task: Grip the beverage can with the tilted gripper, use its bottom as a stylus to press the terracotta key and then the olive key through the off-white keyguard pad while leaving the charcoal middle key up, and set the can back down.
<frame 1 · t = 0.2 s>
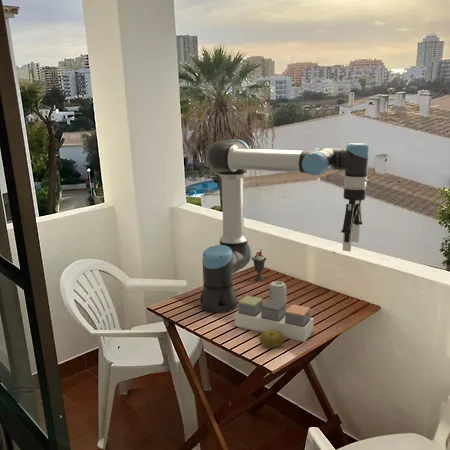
hand: (350, 246, 168), 27 cm above the table, tool pointing down, fingers open, 13 cm apart
beverage can: (277, 313, 179), on the table
sundae: (259, 279, 215), on the table
keypad: (273, 328, 166), on the table
key olive: (250, 307, 169), point 6 cm above the table, slide at 0.0 cm
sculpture: (271, 344, 155), on the table
key charcoal: (273, 312, 164), point 6 cm above the table, slide at 0.0 cm
key terracotta: (297, 317, 160), point 6 cm above the table, slide at 0.0 cm
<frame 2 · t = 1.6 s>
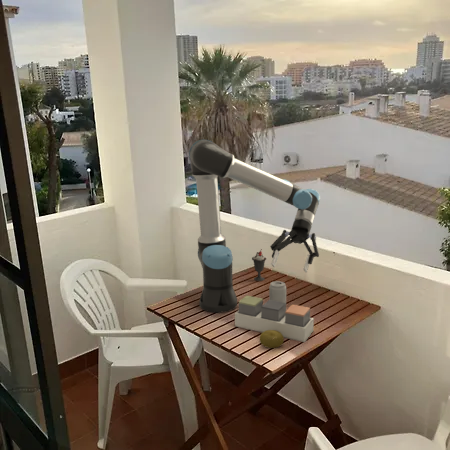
hand: (288, 268, 184), 15 cm above the table, tool tilted 45°, fingers open, 13 cm apart
nothing on the table moved.
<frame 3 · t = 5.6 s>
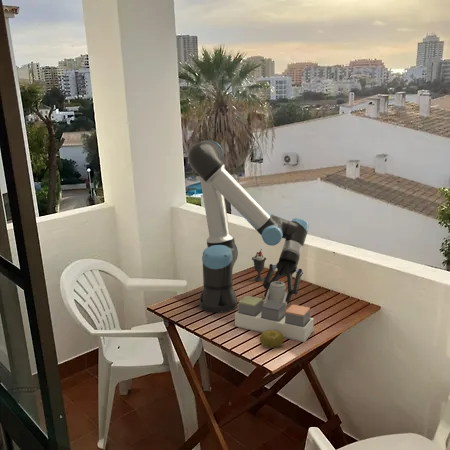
hand: (273, 307, 175), 4 cm above the table, tool tilted 45°, fingers closed on beverage can, 6 cm apart
beverage can: (277, 313, 179), on the table, touching gripper
everything else where it was.
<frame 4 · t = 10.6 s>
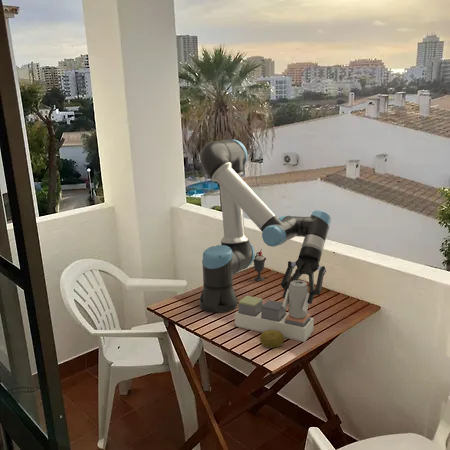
hand: (294, 309, 156), 11 cm above the table, tool tilted 45°, fingers closed on beverage can, 6 cm apart
beverage can: (297, 316, 160), point 7 cm above the table, touching gripper, key terracotta
key terracotta: (297, 323, 161), point 4 cm above the table, slide at -2.3 cm, touching beverage can
everything else where it was.
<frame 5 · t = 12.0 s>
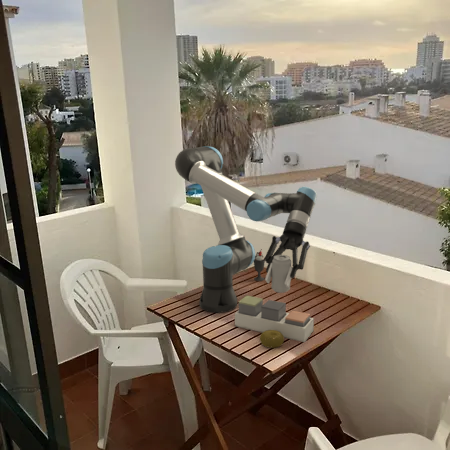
hand: (276, 283, 157), 19 cm above the table, tool tilted 45°, fingers closed on beverage can, 6 cm apart
beverage can: (280, 290, 161), point 15 cm above the table, touching gripper
key terracotta: (297, 323, 161), point 4 cm above the table, slide at -2.3 cm
everything else where it was.
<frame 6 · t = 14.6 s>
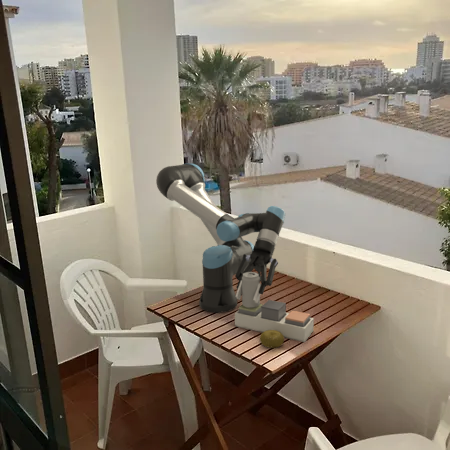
hand: (246, 299, 165), 11 cm above the table, tool tilted 45°, fingers closed on beverage can, 6 cm apart
beverage can: (251, 306, 169), point 7 cm above the table, touching gripper, key olive
key olive: (250, 313, 169), point 4 cm above the table, slide at -2.1 cm, touching beverage can
everything else where it was.
when the fingers open (5 cm above the table, at t = 18.5 s): beverage can drops 2 cm, on the table.
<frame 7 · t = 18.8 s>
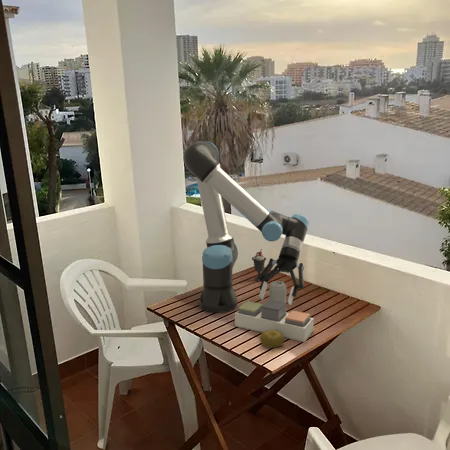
hand: (274, 301, 175), 6 cm above the table, tool tilted 45°, fingers open, 11 cm apart
beverage can: (277, 313, 179), on the table
key olive: (250, 313, 169), point 4 cm above the table, slide at -2.2 cm
everything else where it was.
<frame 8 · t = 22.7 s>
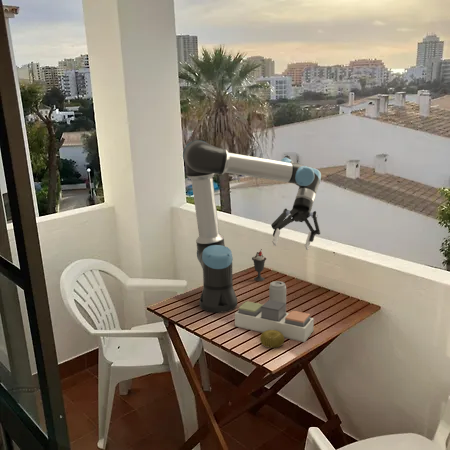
hand: (289, 246, 183), 24 cm above the table, tool tilted 45°, fingers open, 13 cm apart
nothing on the table moved.
at the end: key terracotta slide at -2.3 cm; key olive slide at -2.2 cm; key charcoal slide at 0.0 cm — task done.
